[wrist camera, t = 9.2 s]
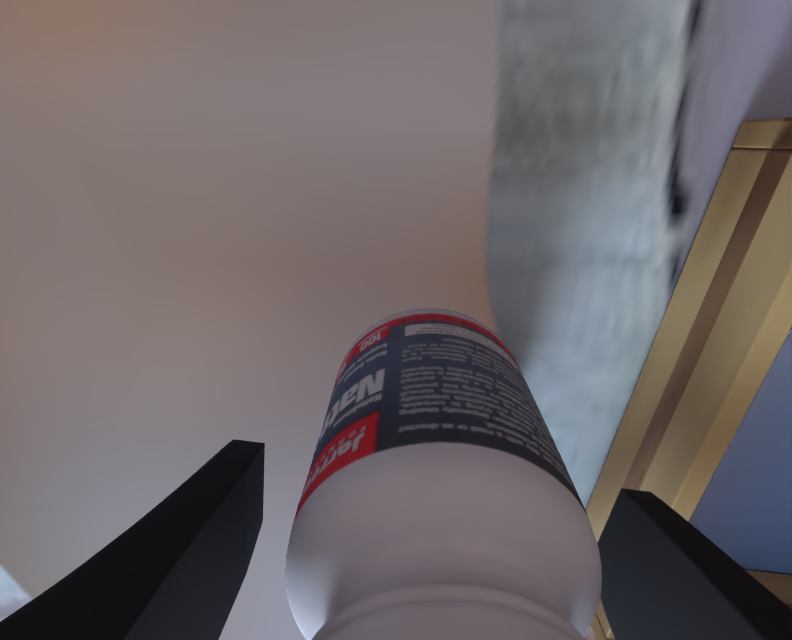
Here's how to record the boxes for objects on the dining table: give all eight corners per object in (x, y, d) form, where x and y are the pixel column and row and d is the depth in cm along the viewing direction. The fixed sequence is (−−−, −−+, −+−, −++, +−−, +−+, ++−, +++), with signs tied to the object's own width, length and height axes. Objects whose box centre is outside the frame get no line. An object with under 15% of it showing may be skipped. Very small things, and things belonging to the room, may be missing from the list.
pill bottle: (365, 279, 12) (263, 620, 3) (547, 335, 12) (842, 751, 4) (319, 434, 14) (182, 887, 5) (476, 477, 14) (572, 953, 6)
